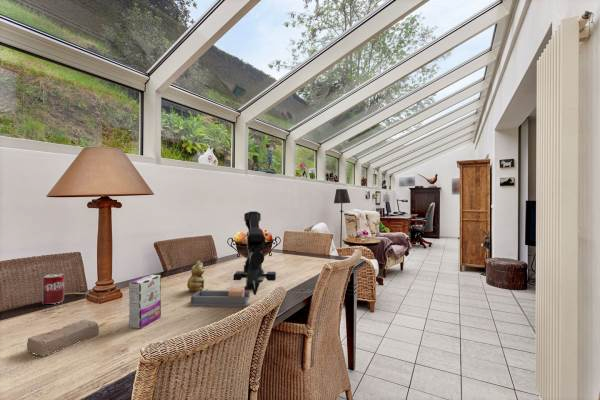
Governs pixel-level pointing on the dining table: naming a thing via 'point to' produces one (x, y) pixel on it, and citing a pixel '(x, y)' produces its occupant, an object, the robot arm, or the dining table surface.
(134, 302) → the candy bar box
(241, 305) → the grey tray
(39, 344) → the brick
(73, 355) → the dining table surface
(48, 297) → the soda can
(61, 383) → the dining table surface
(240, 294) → the block
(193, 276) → the decorative figurine
